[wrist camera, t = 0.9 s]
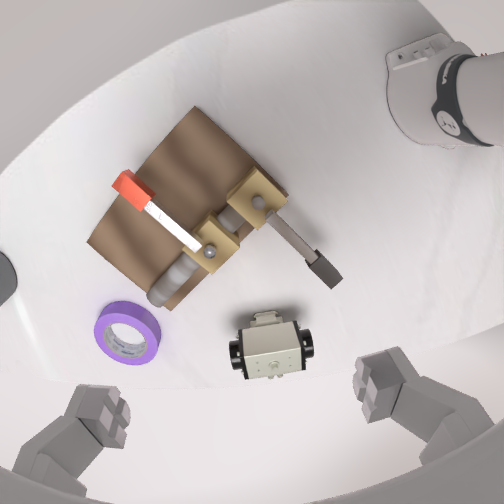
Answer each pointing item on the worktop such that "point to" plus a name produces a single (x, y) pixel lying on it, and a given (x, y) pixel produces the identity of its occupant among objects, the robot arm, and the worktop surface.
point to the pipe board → (196, 213)
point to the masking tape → (131, 317)
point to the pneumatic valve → (271, 347)
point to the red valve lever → (158, 211)
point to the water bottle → (6, 279)
